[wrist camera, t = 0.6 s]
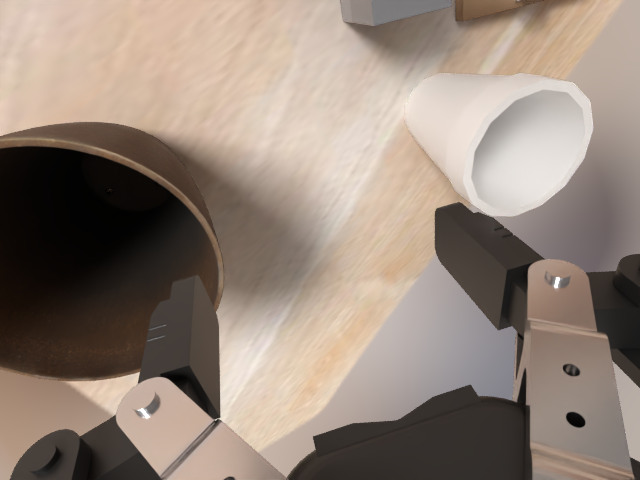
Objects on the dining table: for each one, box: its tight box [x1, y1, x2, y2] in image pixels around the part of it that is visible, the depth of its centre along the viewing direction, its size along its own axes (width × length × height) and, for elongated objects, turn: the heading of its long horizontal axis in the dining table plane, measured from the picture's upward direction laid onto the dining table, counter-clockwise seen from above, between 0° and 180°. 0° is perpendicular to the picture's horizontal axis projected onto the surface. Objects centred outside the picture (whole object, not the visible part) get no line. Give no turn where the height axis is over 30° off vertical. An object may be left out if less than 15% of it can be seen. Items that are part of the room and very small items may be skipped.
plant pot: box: [0, 122, 224, 381], centre depth 26 cm, size 15×15×16 cm
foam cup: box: [405, 73, 593, 216], centre depth 31 cm, size 10×9×13 cm
